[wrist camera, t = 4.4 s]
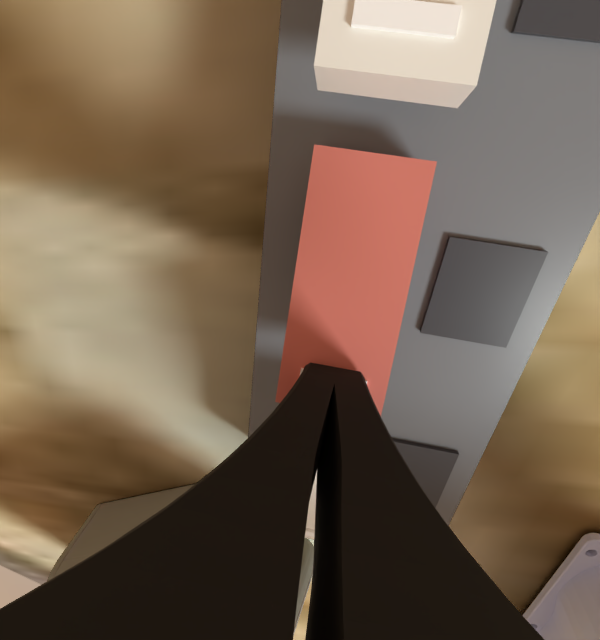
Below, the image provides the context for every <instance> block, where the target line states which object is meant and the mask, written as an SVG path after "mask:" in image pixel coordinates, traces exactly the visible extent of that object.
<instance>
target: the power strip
mask: <svg viewBox="0 0 600 640" xmlns="http://www.w3.org/2000/svg"><path fill="white" fill-rule="evenodd" d="M322 6H323V0H282V3H281V16H280V29H279V42H278V55H277V68H276V81H275V94H274V107H273V120H272V133H271V147H270V160H269V173H268V186H267V199H266V212H265V225H264V238H263V251H262V264H261V277H260V290H259V303H258V316H257V329H256V343H255V356H254V369H253V382H252V395H251V408H250V421H249V434H248V438H249V437H250V436H251V435H252V434H253V432H254V431H255V430H256V429H257V428H258V427H259V426H260V425H261V424H262V423H263V422H264V421H265V420H266V419H267V418H268V417H269V416H270V414H271V413H272V412H273V411H274V410H275V408H276V407H277V406H278V405H279V404H280V403H278V402H275V400H276V393H277V387H278V380H279V374H280V367H281V360H282V354H283V347H284V341H285V334H286V327H287V321H288V314H289V308H290V301H291V294H292V288H293V281H294V275H295V268H296V261H297V255H298V248H299V241H300V235H301V228H302V222H303V215H304V208H305V202H306V195H307V189H308V182H309V175H310V169H311V162H312V156H313V149H314V144H315V145H322V146H329V147H336V148H344V149H351V150H358V151H365V152H372V153H379V154H387V155H394V156H401V157H408V158H415V159H422V160H429V161H437V164H436V168H435V173H434V177H433V182H432V186H431V191H430V196H429V200H428V205H427V209H426V214H425V218H424V223H423V227H422V232H421V237H420V241H419V246H418V250H417V255H416V259H415V264H414V268H413V273H412V277H411V282H410V287H409V291H408V296H407V300H406V305H405V309H404V314H403V318H402V323H401V328H400V332H399V337H398V341H397V346H396V350H395V355H394V359H393V364H392V368H391V373H390V378H389V382H388V387H387V391H386V396H385V400H384V405H383V409H382V414H381V418H382V420H383V422H384V424H385V426H386V428H387V430H388V432H389V434H390V435H391V437H392V439H393V441H394V443H395V445H396V447H397V448H398V450H399V452H400V454H401V455H402V457H403V459H404V460H405V462H406V464H407V465H408V467H409V469H410V470H411V472H412V474H413V475H414V477H415V478H416V480H417V482H418V483H419V485H420V486H421V488H422V489H423V491H424V492H425V494H426V495H427V497H428V498H429V500H430V501H431V503H432V504H433V505H434V507H435V508H436V510H437V511H438V512H439V514H440V515H441V517H442V518H443V520H444V521H445V522H446V524H447V525H448V526H449V524H450V521H451V519H452V517H453V515H454V513H455V511H456V509H457V507H458V505H459V503H460V501H461V499H462V497H463V494H464V492H465V490H466V488H467V486H468V484H469V482H470V480H471V478H472V476H473V474H474V472H475V470H476V467H477V465H478V463H479V461H480V459H481V457H482V455H483V453H484V451H485V449H486V447H487V445H488V442H489V440H490V438H491V436H492V434H493V432H494V430H495V428H496V426H497V424H498V422H499V420H500V418H501V415H502V413H503V411H504V409H505V407H506V405H507V403H508V401H509V399H510V397H511V395H512V393H513V391H514V388H515V386H516V384H517V382H518V380H519V378H520V376H521V374H522V372H523V370H524V368H525V366H526V364H527V361H528V359H529V357H530V355H531V353H532V351H533V349H534V347H535V345H536V343H537V341H538V339H539V337H540V334H541V332H542V330H543V328H544V326H545V324H546V322H547V320H548V318H549V316H550V314H551V312H552V310H553V307H554V305H555V303H556V301H557V299H558V297H559V295H560V293H561V291H562V289H563V287H564V285H565V283H566V280H567V278H568V276H569V274H570V272H571V270H572V268H573V266H574V264H575V262H576V260H577V258H578V256H579V253H580V251H581V249H582V247H583V245H584V243H585V241H586V239H587V237H588V235H589V233H590V231H591V229H592V226H593V224H594V222H595V220H596V218H597V216H598V214H599V212H600V0H497V1H496V5H495V9H494V14H493V18H492V22H491V26H490V31H489V35H488V39H487V44H486V48H485V52H484V57H483V61H482V65H481V70H480V74H479V78H478V83H477V86H476V87H475V88H474V90H473V91H472V92H471V93H470V94H469V95H468V97H467V98H466V99H465V100H464V101H463V102H462V104H461V105H460V106H459V107H458V108H452V107H444V106H436V105H429V104H421V103H413V102H405V101H398V100H390V99H382V98H374V97H366V96H359V95H351V94H343V93H335V92H328V91H320V90H318V89H317V83H316V77H315V70H314V61H315V54H316V47H317V40H318V33H319V26H320V19H321V12H322Z"/></svg>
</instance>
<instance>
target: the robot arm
mask: <svg viewBox="0 0 600 640" xmlns="http://www.w3.org/2000/svg"><path fill="white" fill-rule="evenodd" d="M316 472H317V484H316V509H315V535H314V560H313V576H312V589H311V598H310V606H309V614H308V623H307V631H306V639H305V640H600V534H599V533H588V534H585V535H584V536H583V537H582V538H581V539H580V540H579V542H578V543H577V544H576V546H575V547H574V548H573V550H572V551H571V552H570V554H569V555H568V556H567V558H566V559H565V560H564V562H563V563H562V564H561V566H560V567H559V568H558V569H557V571H556V572H555V573H554V575H553V576H552V577H551V579H550V580H549V581H548V583H547V584H546V585H545V587H544V588H543V589H542V591H541V592H540V593H539V594H538V596H537V597H536V598H535V600H534V601H533V602H532V604H531V605H530V606H529V608H528V609H527V610H526V612H525V613H524V614H523V616H522V615H521V614H520V612H519V611H518V610H517V609H516V608H515V607H514V606H513V605H512V603H511V602H510V601H509V600H508V599H507V598H506V596H505V595H504V594H503V593H502V592H501V590H500V589H499V588H498V587H497V586H496V584H495V583H494V582H493V581H492V580H491V578H490V577H489V576H488V575H487V574H486V572H485V571H484V570H483V569H482V568H481V566H480V565H479V564H478V563H477V562H476V560H475V559H474V558H473V557H472V556H471V554H470V553H469V552H468V551H467V550H466V548H465V547H464V546H463V545H462V543H461V542H460V541H459V539H458V538H457V537H456V535H455V534H454V533H453V531H452V530H451V529H450V528H449V526H448V525H447V524H446V522H445V521H444V520H443V518H442V517H441V515H440V514H439V512H438V511H437V510H436V508H435V507H434V505H433V504H432V503H431V501H430V500H429V498H428V497H427V495H426V494H425V492H424V491H423V489H422V488H421V486H420V485H419V483H418V482H417V480H416V478H415V477H414V475H413V474H412V472H411V470H410V469H409V467H408V465H407V464H406V462H405V460H404V459H403V457H402V455H401V454H400V452H399V450H398V448H397V447H396V445H395V443H394V441H393V439H392V437H391V435H390V434H389V432H388V430H387V428H386V426H385V424H384V422H383V420H382V418H381V416H380V414H379V412H378V410H377V407H376V405H375V403H374V401H373V399H372V396H371V394H370V391H369V389H368V386H367V384H366V381H365V378H364V376H363V374H362V373H361V372H360V371H354V370H349V369H343V368H338V367H332V366H327V365H321V364H316V363H311V362H310V363H309V364H307V365H305V367H304V369H303V371H302V373H301V375H300V377H299V378H298V380H297V381H296V383H295V384H294V385H293V387H292V388H291V390H290V391H289V392H288V394H287V395H286V396H285V397H284V399H283V400H282V401H281V402H280V404H279V405H278V406H277V407H276V408H275V410H274V411H273V412H272V413H271V414H270V416H269V417H268V418H267V419H266V420H265V421H264V422H263V423H262V424H261V425H260V426H259V427H258V428H257V429H256V430H255V431H254V432H253V434H252V435H251V436H250V437H249V438H248V439H247V440H246V441H245V442H244V443H243V444H241V445H240V446H239V447H238V448H237V449H236V450H235V451H234V452H233V453H232V454H231V455H230V456H229V457H227V458H226V459H225V460H224V461H223V462H222V463H221V464H219V465H218V466H217V467H216V468H215V469H214V470H212V471H211V472H210V473H209V474H207V475H206V476H205V477H204V478H202V479H201V480H200V481H199V482H197V483H196V484H195V485H194V486H192V487H191V488H190V489H189V490H187V491H186V492H185V493H183V494H182V495H181V496H179V497H178V498H177V499H175V500H174V501H173V502H171V503H170V504H169V505H167V506H166V507H164V508H163V509H162V510H160V511H159V512H157V513H156V514H154V515H153V516H151V517H150V518H148V519H147V520H145V521H144V522H142V523H141V524H139V525H138V526H136V527H135V528H133V529H132V530H130V531H129V532H127V533H126V534H124V535H123V536H121V537H120V538H118V539H117V540H116V541H114V542H113V543H111V544H109V545H108V546H106V547H105V548H103V549H101V550H100V551H98V552H97V553H95V554H93V555H92V556H90V557H88V558H87V559H85V560H83V561H82V562H80V563H78V564H76V565H75V566H73V567H71V568H70V569H68V570H66V571H64V572H63V573H61V574H59V575H58V576H56V577H54V578H52V579H51V580H49V581H47V582H46V583H44V584H42V585H41V586H39V587H37V588H35V589H34V590H32V591H30V592H29V593H27V594H25V595H24V596H22V597H20V598H18V599H16V600H15V601H13V602H11V603H9V604H8V605H6V606H4V607H3V608H1V609H0V640H293V634H294V625H295V616H296V607H297V598H298V590H299V582H300V573H301V565H302V556H303V548H304V539H305V531H306V523H307V515H308V507H309V501H310V497H311V493H312V488H313V484H314V480H315V476H316Z"/></svg>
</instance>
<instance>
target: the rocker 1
mask: <svg viewBox="0 0 600 640" xmlns="http://www.w3.org/2000/svg"><path fill="white" fill-rule="evenodd" d="M496 1H497V0H323V6H322V12H321V19H320V26H319V33H318V40H317V47H316V54H315V61H314V70H315V77H316V83H317V89H318V90H320V91H328V92H335V93H343V94H351V95H359V96H366V97H374V98H382V99H390V100H398V101H405V102H413V103H421V104H429V105H436V106H444V107H452V108H458V107H459V106H460V105H461V104H462V102H463V101H464V100H465V99H466V98H467V97H468V95H469V94H470V93H471V92H472V91H473V90H474V88H475V87H476V86H477V83H478V78H479V74H480V70H481V65H482V61H483V57H484V52H485V48H486V44H487V39H488V35H489V31H490V26H491V22H492V18H493V14H494V9H495V5H496Z"/></svg>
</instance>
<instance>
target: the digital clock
mask: <svg viewBox="0 0 600 640" xmlns="http://www.w3.org/2000/svg"><path fill="white" fill-rule="evenodd" d="M194 485H195V484H193V485H188V486H183V487H178V488H174V489H169V490H164V491H159V492H154V493H150V494H145V495H140V496H135V497H131V498H126V499H121V500H116V501H111V502H107V503H102V504H98V505H97V506H96V507H95V508H94V510H93V511H92V513H91V514H90V515H89V517H88V518H87V520H86V521H85V522H84V524H83V525H82V527H81V528H80V529H79V531H78V532H77V534H76V535H75V536H74V538H73V539H72V541H71V542H70V543H69V545H68V546H67V548H66V549H65V550H64V552H63V553H62V555H61V556H60V557H59V559H58V560H57V562H56V564H55V565H54V567H53V569H52V570H51V572H50V574H49V577H48V580H47V581H49V580H51V579H52V578H54V577H56V576H58V575H59V574H61V573H63V572H64V571H66V570H68V569H70V568H71V567H73V566H75V565H76V564H78V563H80V562H82V561H83V560H85V559H87V558H88V557H90V556H92V555H93V554H95V553H97V552H98V551H100V550H101V549H103V548H105V547H106V546H108V545H109V544H111V543H113V542H114V541H116V540H117V539H118V538H120V537H121V536H123V535H124V534H126V533H127V532H129V531H130V530H132V529H133V528H135V527H136V526H138V525H139V524H141V523H142V522H144V521H145V520H147V519H148V518H150V517H151V516H153V515H154V514H156V513H157V512H159V511H160V510H162V509H163V508H164V507H166V506H167V505H169V504H170V503H171V502H173V501H174V500H175V499H177V498H178V497H179V496H181V495H182V494H183V493H185V492H186V491H187V490H189V489H190V488H191V487H192V486H194ZM313 560H314V546H313V545H312V543H311V542H310V541H309V540H308V539H307V538H305V539H304V548H303V556H302V565H301V573H300V582H299V590H298V598H297V607H296V616H295V625H294V632H295V629H296V626H297V623H298V620H299V616H300V613H301V610H302V607H303V604H304V601H305V597H306V594H307V591H308V588H309V585H310V581H311V578H312V575H313ZM293 636H294V634H293Z"/></svg>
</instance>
